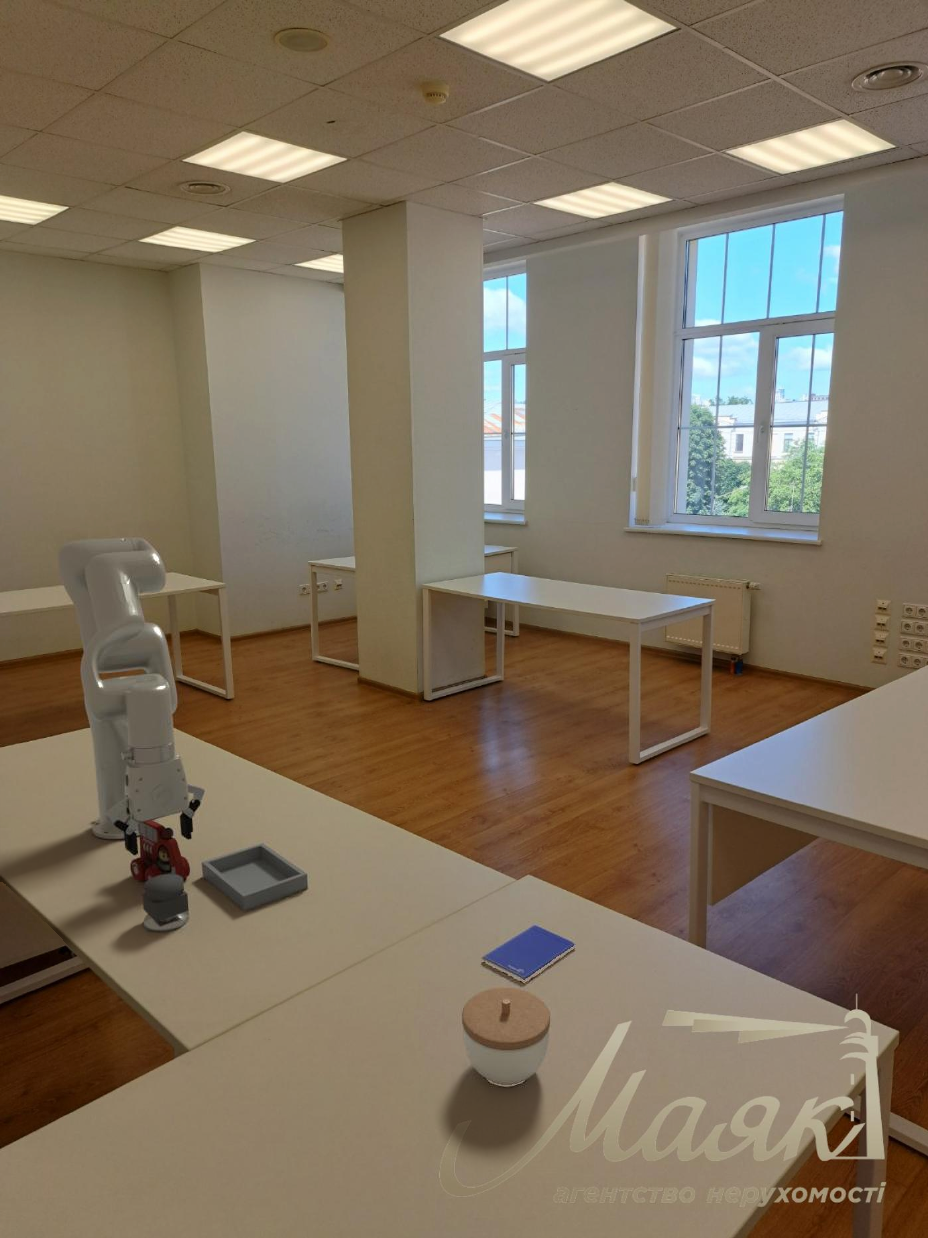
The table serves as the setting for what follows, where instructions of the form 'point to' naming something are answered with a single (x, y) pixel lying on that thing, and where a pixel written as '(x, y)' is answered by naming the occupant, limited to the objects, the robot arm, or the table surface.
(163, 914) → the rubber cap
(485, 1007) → the lidded jar
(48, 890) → the table surface
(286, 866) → the grey shallow rectangular tray
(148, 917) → the silver flared round stand
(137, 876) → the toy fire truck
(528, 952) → the hard drive
